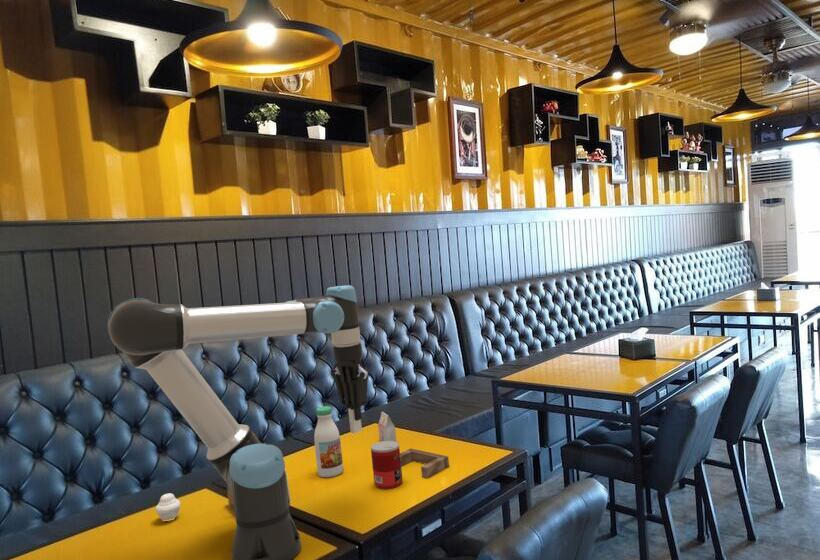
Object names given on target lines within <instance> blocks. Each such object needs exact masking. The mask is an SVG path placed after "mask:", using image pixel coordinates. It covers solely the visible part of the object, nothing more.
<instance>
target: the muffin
mask: <svg viewBox="0 0 820 560" xmlns="http://www.w3.org/2000/svg"><path fill="white" fill-rule="evenodd" d="M180 510H181V501H180V500H179V499H177V498H176V497H175V495H174V494H173V493H170V492H169V493H165V494H163V495H161V497H160V499H159V501H158V504H157V505H156V506H155V512H156V513H157V515H158V517H159V518H160V519H161V520H162V521H163V520H169V519H173V518H175V517H176V516H177V517H178V514H179V511H180ZM177 517H176V518H177Z"/></svg>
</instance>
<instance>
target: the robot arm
mask: <svg viewBox="0 0 820 560" xmlns="http://www.w3.org/2000/svg"><path fill="white" fill-rule="evenodd" d="M358 310H359V309H358V299H357V294H356V289H355V287H354V286H352V285H351V284H350V285H348V284H347V285H336V286H330V287H328V288H327V289H326V294H325V295H323V296H322V295H321V296H318V297H309V298H300V299H299V298H298V299H294V300H287V301H285V302H276V303H275V302H274V303H273V302H272V303H256V304H241V305H240V304H239V305H226V306H223V305H221V306H208V307H207V306H206V307H205V306H204V307H202V306H201V307H190V308H189V307H186V306H184V305H183V304H181V303H177V304H175V303H174V304H166V303H157V302H153V301H151V300H150V299H147V298H140V297H136V298H134V297H133V298H129V299H127V300H125V301H122V302H120V303H119V304H118V305H117V306H115V307H113V309H112V310H111V312H110V313H109V316H108V320H107V331H108V335H109V337H110V340H111V341H112V344H113V345H114V346H115V347H116V348H117V349H118V350H120V351H121V352H122V353H123V354H124V355H125V357H126V358H127V359H128V360H129V362H130V363H131V364H132V366H134V368H135V369H140V370H141V369H142V370H146V371H147V372H148V374H149V376H151V378H152V379H153V380H154V382H156V384H157V385H158V387H160V389H161V390H162V392H163V393H164V394H165V396H167V398H168V399H169V401H170V402H171V403H172V404H173V406H174V407H175V409H177V411H178V412H179V413H180V414H181V416H182V417H183V418H184V419H185V421H186V422H187V423H188V425H189V426H190V427H191V429H192V430H193V431H194V432H195V433H196V435H197V436H198V437H199V439H200V440H201V441H202V443H203V444H204V445H205V446H206V448H207V451H206V458H207V460H208V462H210V464H211V465H212V466H213V468H214V469H215V470H216V471H217V472H218V474H219V475H220V477H221V478H222V479H223V481H224V482H225V484H226V485H227V486H228V488H229V490H230V492H231V494H232V497H233V505H234V506H233V507H234V513H235V514H234V516H235V521H236V523H235V524H236V528H235V532H234V537H233V543H232V547H231V560H291V559H292V560H293V559H295V556H296V555H297V556H298V555H299V553H300V551H301V549H302V543H301V542H302V541H301V534H300V533H299V531H298V529H297V527H296V524H295V522H294V520H293V518H292V516H291V513H290V507H289V497H288V488H287V479H286V478H287V476H286V464H285V463H286V462H285V458H284V454H283V452H282V451H281V449H280V448H279V447H278V446H276V445H273V444H267V443H262V442H261V441H260V440H259V438H258V437H257V436H256V434H255V433H254V432H253V430H252V429H251V428H250V426H249V425H247V424H239V423H238V421H237V420H236V419H235V418H234V416H233V415H232V414H231V413H230V411H229V410H228V408H227V407H226V406H225V405H224V403H223V402H222V401H221V400H220V398H219V397H218V395H217V394H216V392H215V391H214V390H213V388H211V386H210V385H209V383H208V382H207V381H206V380H205V378H204V377H203V376H202V375H201V372H199V370H198V369H197V368H196V366H195V365H194V364H193V362H192V361H191V360H190V358H189V357H188V355H187V354H186V353H185V352H184V350H185V349H186V348H187V346H189V345H190V344H203V343H214V342H222V341H223V342H224V341H236V340H247V339H258V338H259V339H260V338H268V337H279V336H280V337H282V336H293V335H294V336H295V335H303V334H305V335H306V334H318V333H319V334H323V335H324V334H325V335H327V334H330V335H331V344H332V345H333V347H332V353H333V359H334V361H336V367H335V368H332V369H331V370H330V373H331V375H332V376H333V379H334V383H335V387H336V391H337V394H338V398H339V401H340V405H341V406H343V405H344V406H345V408H346V409H347V418H348V421H349V430H350V434H351V433H352V434H356V433H359V432H361V431H363V427H362V418H363V417H362V410H361V409H362V407H363V406H366V405H367V397H368V396H367V395H368V394H367V393H368V380H369V377H370V370H366V369H364V368H363V363H362V362H361V359H362V357H363V348H362V344H361V343H360V342H361V333H360V332H361V331H360V324H359V323H360V322H359V311H358ZM297 556H296V557H297Z"/></svg>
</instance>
